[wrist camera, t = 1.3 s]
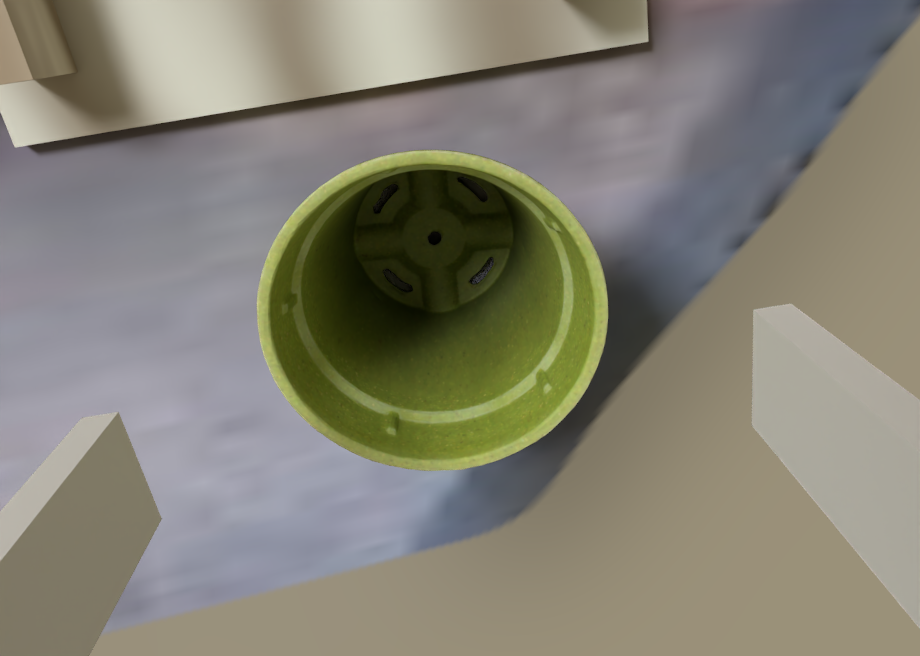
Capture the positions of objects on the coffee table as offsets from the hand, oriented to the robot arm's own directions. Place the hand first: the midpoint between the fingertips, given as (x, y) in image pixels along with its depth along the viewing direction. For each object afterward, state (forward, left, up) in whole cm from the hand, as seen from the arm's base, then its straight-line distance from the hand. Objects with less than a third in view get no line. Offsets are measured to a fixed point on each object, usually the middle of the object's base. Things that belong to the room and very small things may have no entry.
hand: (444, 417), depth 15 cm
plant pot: (0, 0, -14) cm, 14 cm away
